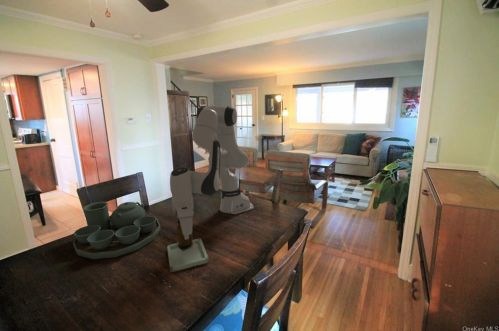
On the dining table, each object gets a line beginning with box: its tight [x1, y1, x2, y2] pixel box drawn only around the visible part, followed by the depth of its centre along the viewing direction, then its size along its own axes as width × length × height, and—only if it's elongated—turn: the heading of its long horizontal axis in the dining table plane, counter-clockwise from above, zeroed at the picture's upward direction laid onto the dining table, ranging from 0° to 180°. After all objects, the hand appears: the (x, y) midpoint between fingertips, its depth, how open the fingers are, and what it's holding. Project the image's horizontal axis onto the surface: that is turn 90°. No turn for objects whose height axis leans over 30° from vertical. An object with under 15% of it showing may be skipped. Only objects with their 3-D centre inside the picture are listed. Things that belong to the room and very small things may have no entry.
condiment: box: [174, 219, 198, 251], centre depth 104 cm, size 7×8×12 cm
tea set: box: [72, 201, 161, 260], centre depth 123 cm, size 40×40×16 cm
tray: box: [167, 237, 210, 273], centre depth 107 cm, size 16×18×2 cm
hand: (185, 234), depth 105 cm, fingers closed on condiment, 6 cm apart
